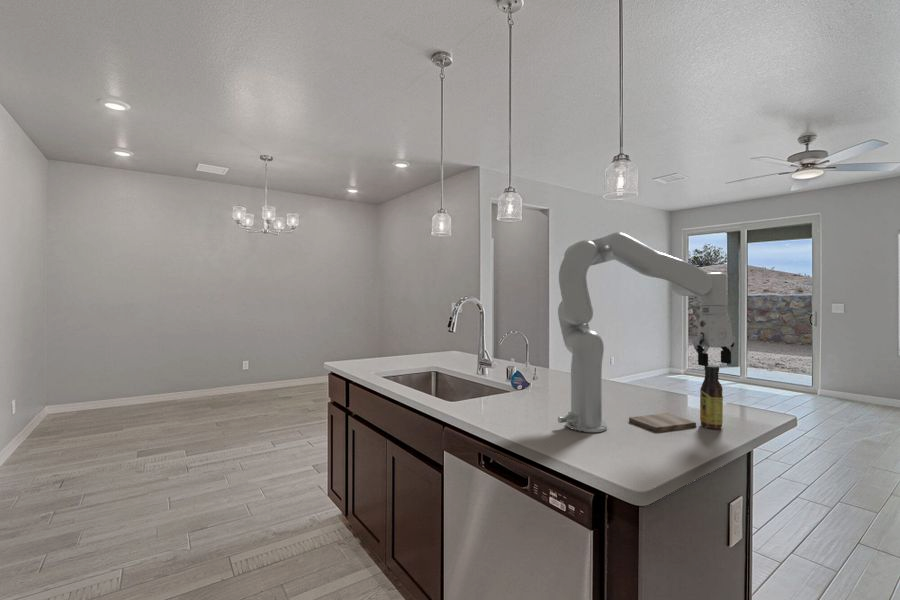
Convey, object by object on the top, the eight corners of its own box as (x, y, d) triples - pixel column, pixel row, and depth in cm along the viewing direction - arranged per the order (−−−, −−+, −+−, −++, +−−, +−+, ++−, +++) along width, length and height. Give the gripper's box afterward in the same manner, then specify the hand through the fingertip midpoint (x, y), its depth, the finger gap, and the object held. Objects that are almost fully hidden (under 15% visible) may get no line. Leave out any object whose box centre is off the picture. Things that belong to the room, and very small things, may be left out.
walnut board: (656, 432, 136) (656, 427, 136) (629, 421, 147) (629, 417, 147) (696, 427, 141) (696, 422, 141) (666, 417, 152) (666, 413, 152)
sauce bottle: (699, 423, 145) (699, 363, 145) (721, 425, 142) (721, 364, 142) (700, 428, 139) (700, 366, 139) (723, 431, 137) (723, 367, 136)
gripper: (703, 312, 134) (704, 368, 134) (744, 310, 139) (745, 364, 140) (683, 311, 141) (684, 364, 141) (723, 309, 147) (724, 360, 147)
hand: (714, 364), depth 140 cm, fingers open, 9 cm apart
